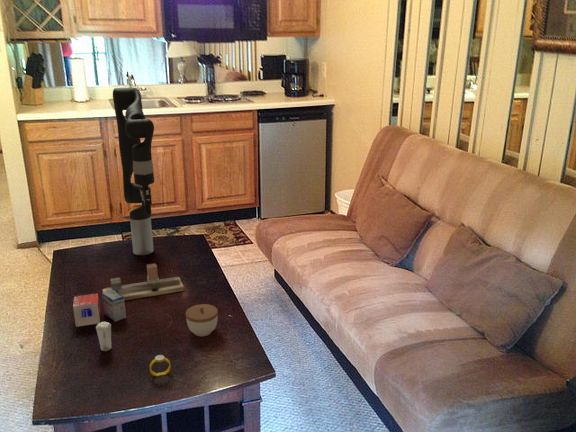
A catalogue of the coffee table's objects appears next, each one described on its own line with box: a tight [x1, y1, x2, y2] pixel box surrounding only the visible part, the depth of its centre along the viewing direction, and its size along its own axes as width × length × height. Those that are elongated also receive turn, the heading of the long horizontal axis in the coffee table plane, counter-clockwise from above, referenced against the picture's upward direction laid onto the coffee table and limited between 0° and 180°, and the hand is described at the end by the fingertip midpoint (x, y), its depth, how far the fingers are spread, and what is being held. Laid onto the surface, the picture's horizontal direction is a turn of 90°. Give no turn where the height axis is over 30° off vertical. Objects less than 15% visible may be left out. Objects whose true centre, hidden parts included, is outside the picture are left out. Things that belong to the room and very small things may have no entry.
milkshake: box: [95, 321, 112, 352], centre depth 165 cm, size 5×5×10 cm
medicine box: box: [101, 290, 127, 323], centre depth 185 cm, size 8×4×9 cm, turn 47°
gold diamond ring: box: [149, 354, 172, 377], centre depth 153 cm, size 6×3×6 cm, turn 108°
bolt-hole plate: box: [102, 276, 185, 302], centre depth 204 cm, size 10×30×6 cm, turn 112°
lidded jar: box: [185, 303, 219, 337], centre depth 175 cm, size 11×11×9 cm
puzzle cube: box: [72, 293, 101, 328], centre depth 183 cm, size 8×8×8 cm
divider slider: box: [146, 262, 160, 288], centre depth 204 cm, size 4×4×9 cm
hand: (147, 210), depth 206 cm, fingers open, 8 cm apart
